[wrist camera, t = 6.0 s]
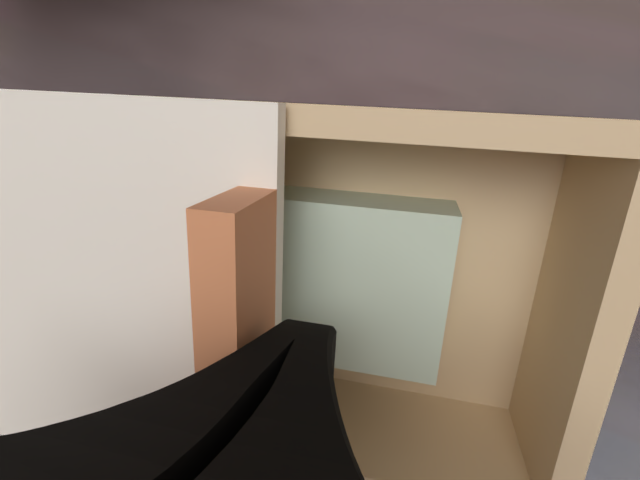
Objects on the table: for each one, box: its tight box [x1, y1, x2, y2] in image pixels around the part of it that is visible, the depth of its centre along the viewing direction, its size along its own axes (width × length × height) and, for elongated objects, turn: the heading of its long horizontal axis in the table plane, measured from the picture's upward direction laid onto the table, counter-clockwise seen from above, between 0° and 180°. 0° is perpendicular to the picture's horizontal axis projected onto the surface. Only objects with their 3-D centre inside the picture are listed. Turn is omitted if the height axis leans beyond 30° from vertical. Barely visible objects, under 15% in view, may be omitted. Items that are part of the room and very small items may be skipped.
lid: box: [0, 89, 286, 435], centre depth 12 cm, size 12×14×3 cm
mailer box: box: [116, 94, 640, 480], centre depth 14 cm, size 12×14×5 cm
